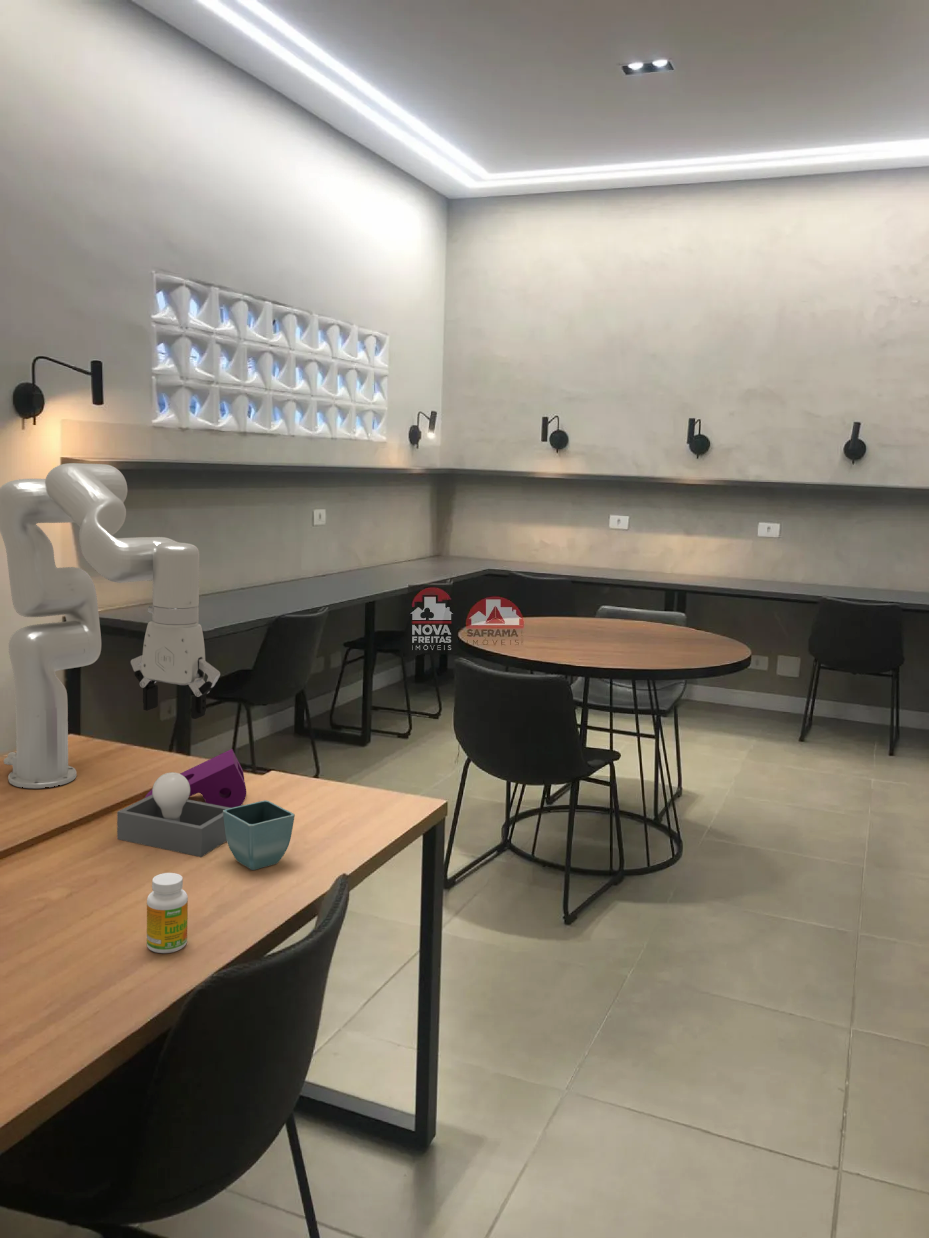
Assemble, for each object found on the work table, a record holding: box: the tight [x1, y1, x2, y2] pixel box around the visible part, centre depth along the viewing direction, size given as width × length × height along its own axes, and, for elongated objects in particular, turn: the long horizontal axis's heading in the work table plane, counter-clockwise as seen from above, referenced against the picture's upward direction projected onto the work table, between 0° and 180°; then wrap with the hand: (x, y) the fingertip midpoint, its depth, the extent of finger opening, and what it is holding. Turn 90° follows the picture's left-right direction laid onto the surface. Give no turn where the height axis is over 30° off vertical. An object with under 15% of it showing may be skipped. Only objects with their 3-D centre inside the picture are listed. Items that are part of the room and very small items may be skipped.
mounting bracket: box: [144, 748, 247, 808], centre depth 187 cm, size 10×8×18 cm
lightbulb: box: [151, 771, 190, 822], centre depth 170 cm, size 6×6×11 cm
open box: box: [116, 794, 229, 858], centre depth 171 cm, size 17×10×5 cm, turn 71°
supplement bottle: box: [146, 872, 189, 954], centre depth 134 cm, size 5×5×10 cm
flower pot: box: [223, 799, 296, 871], centre depth 162 cm, size 9×9×9 cm
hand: (174, 712), depth 168 cm, fingers open, 9 cm apart
